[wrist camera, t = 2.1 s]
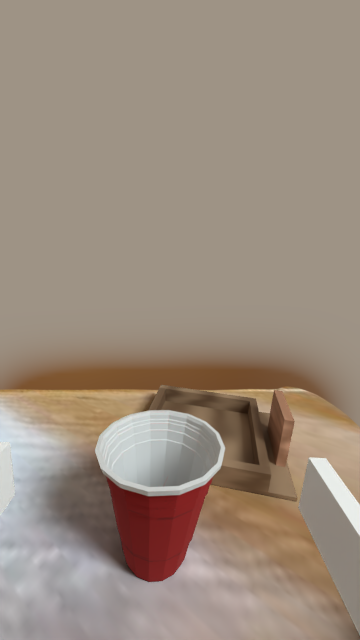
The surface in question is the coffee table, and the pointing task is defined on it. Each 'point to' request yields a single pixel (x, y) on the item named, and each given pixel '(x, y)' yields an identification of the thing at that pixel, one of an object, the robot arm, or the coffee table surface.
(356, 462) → the coffee table surface
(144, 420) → the plastic cup
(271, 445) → the cup dock
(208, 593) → the coffee table surface
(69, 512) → the coffee table surface
